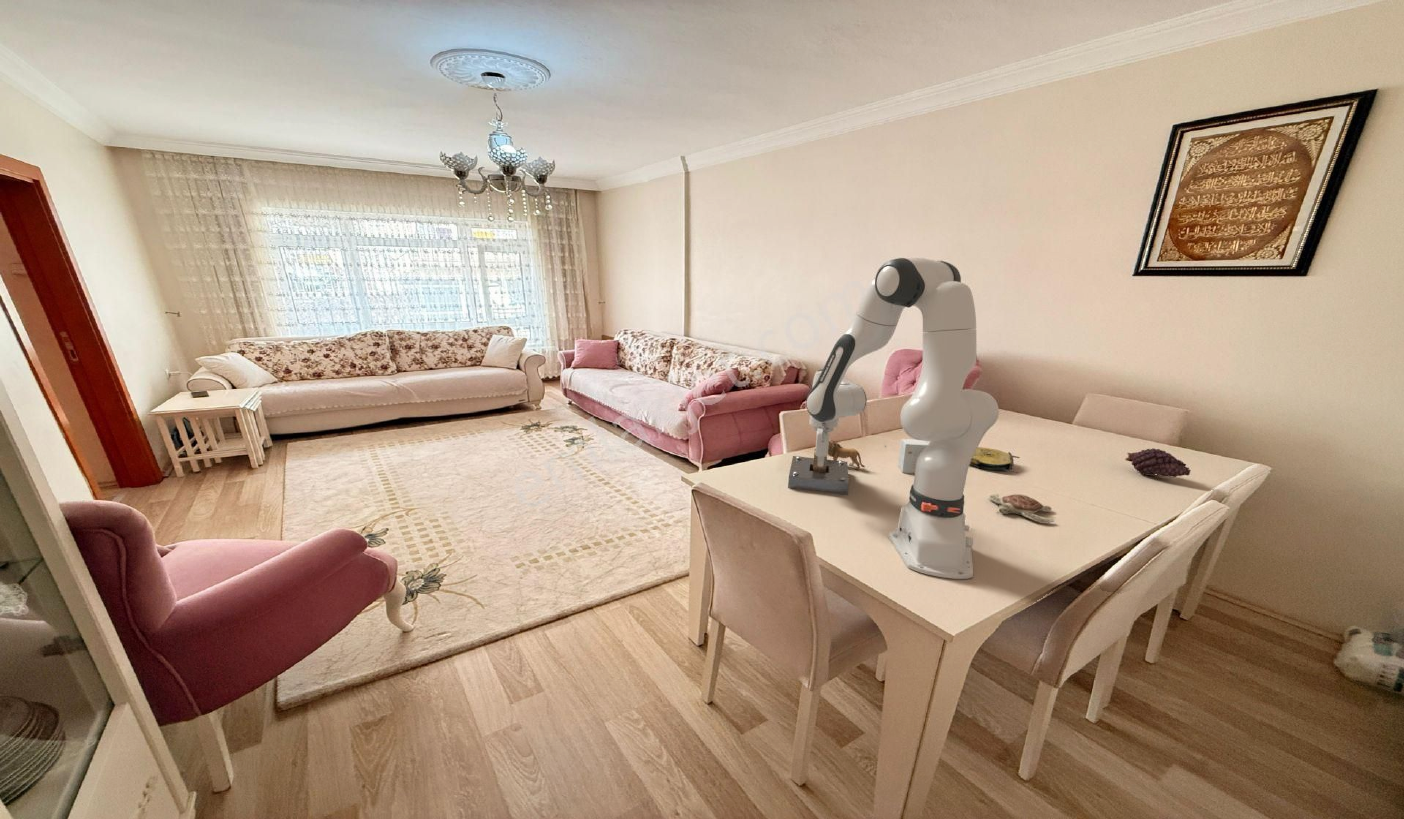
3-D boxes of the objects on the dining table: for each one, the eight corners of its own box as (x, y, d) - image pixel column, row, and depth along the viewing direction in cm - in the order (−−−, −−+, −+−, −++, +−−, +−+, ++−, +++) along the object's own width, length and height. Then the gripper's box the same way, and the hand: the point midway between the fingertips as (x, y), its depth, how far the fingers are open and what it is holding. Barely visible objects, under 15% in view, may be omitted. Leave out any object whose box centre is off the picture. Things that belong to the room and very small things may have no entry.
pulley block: (930, 432, 191) (1021, 448, 176) (928, 446, 193) (1018, 462, 178) (923, 448, 180) (1019, 466, 165) (921, 461, 182) (1016, 481, 167)
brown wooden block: (824, 483, 158) (827, 454, 155) (811, 481, 159) (814, 452, 156) (824, 478, 162) (827, 449, 159) (812, 477, 163) (814, 448, 160)
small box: (920, 468, 172) (925, 439, 170) (926, 474, 167) (930, 445, 164) (897, 466, 173) (901, 438, 170) (901, 473, 168) (905, 443, 165)
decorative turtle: (971, 502, 148) (974, 487, 147) (1010, 494, 154) (1013, 479, 152) (1029, 531, 132) (1032, 514, 130) (1070, 521, 137) (1074, 505, 136)
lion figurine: (820, 465, 173) (823, 441, 170) (821, 460, 177) (823, 436, 175) (864, 471, 169) (867, 446, 166) (864, 465, 174) (867, 441, 171)
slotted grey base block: (847, 495, 150) (849, 481, 149) (787, 487, 154) (788, 474, 153) (846, 472, 167) (847, 460, 166) (792, 466, 171) (793, 454, 170)
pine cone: (1191, 484, 164) (1200, 455, 161) (1177, 489, 160) (1186, 460, 157) (1128, 465, 179) (1135, 439, 176) (1114, 469, 175) (1121, 443, 172)
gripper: (834, 429, 144) (830, 473, 148) (834, 411, 163) (830, 451, 167) (812, 427, 146) (809, 471, 149) (814, 410, 165) (811, 449, 168)
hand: (820, 460), depth 158 cm, fingers open, 8 cm apart
